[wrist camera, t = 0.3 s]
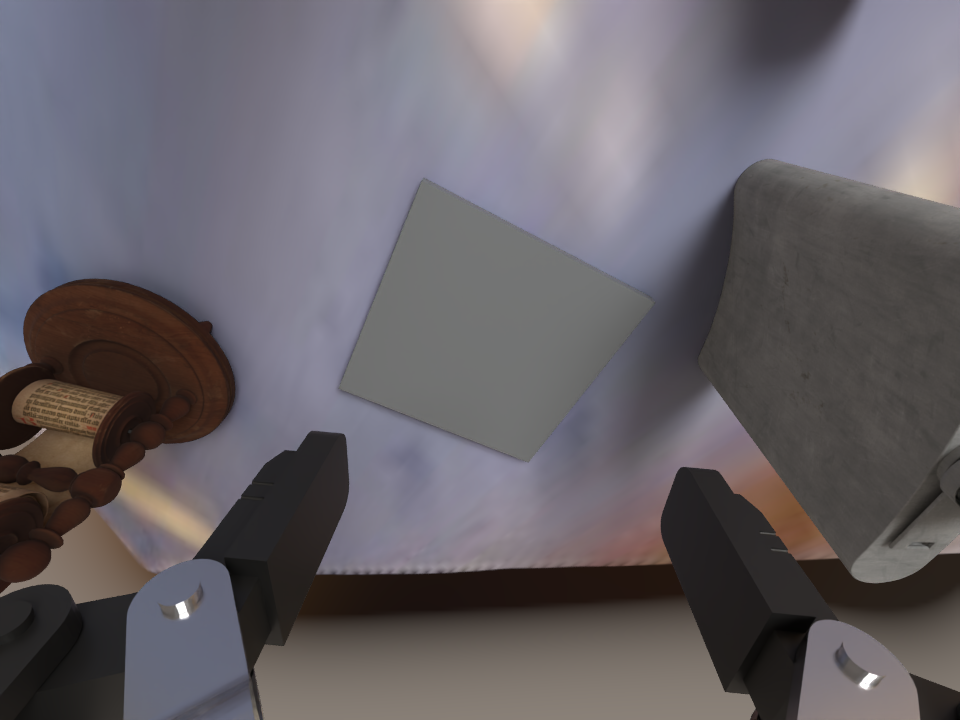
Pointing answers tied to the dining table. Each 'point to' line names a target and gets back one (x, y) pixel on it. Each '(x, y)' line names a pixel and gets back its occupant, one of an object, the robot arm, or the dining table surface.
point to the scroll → (97, 407)
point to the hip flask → (847, 358)
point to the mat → (487, 327)
